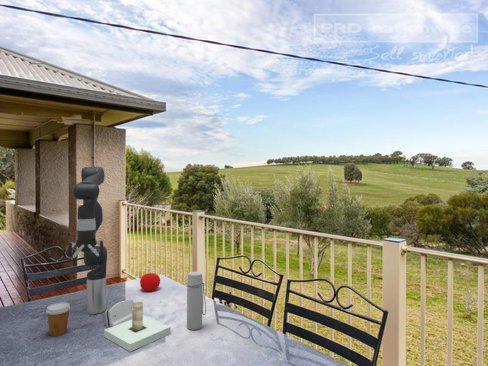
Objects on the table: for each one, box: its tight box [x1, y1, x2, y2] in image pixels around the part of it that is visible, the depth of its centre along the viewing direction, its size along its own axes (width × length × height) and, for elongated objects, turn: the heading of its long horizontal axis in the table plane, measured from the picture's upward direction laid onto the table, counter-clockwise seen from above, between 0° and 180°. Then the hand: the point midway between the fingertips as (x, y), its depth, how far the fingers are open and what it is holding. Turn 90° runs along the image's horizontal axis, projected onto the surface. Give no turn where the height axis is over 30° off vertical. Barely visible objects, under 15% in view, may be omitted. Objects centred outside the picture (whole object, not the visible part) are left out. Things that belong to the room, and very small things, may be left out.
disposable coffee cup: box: [45, 301, 71, 337], centre depth 146 cm, size 10×10×12 cm
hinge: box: [104, 299, 135, 328], centre depth 159 cm, size 17×5×10 cm, turn 155°
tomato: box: [139, 272, 161, 292], centre depth 203 cm, size 12×12×10 cm
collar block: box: [103, 314, 171, 353], centre depth 144 cm, size 20×20×3 cm
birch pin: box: [132, 301, 144, 333], centre depth 144 cm, size 4×4×14 cm
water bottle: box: [186, 271, 207, 331], centre depth 152 cm, size 9×8×25 cm
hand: (86, 264), depth 146 cm, fingers open, 8 cm apart
